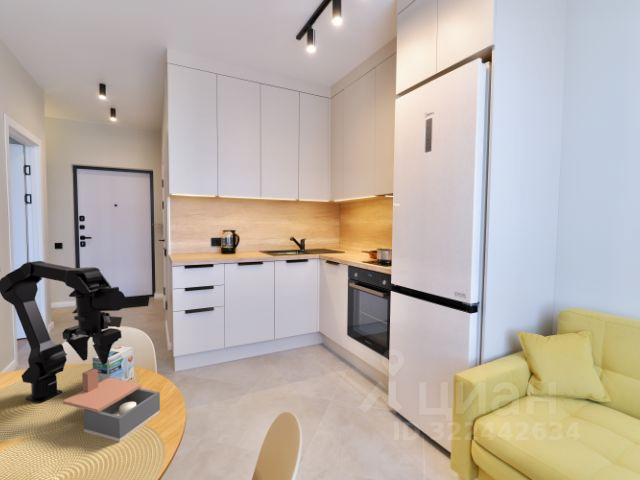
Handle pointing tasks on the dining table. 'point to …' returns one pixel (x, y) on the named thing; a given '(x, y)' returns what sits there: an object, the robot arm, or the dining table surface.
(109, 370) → the light bulb box
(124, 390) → the lid
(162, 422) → the dining table surface
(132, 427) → the carton
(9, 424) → the dining table surface
